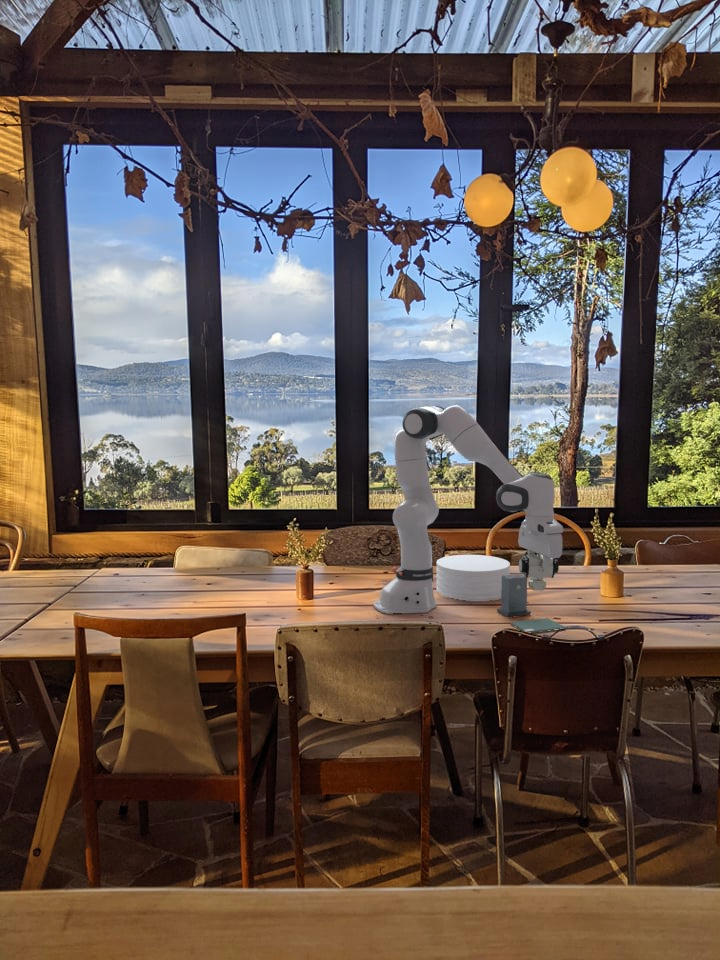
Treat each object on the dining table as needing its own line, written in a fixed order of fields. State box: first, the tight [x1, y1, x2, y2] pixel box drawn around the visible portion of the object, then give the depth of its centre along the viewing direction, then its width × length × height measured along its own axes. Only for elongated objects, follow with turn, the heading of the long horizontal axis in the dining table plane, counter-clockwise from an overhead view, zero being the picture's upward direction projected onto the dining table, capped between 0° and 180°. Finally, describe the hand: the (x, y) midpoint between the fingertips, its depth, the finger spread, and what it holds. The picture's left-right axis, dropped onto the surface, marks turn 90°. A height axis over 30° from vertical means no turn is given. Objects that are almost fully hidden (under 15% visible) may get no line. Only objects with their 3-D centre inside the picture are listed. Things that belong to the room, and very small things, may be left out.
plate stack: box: [435, 554, 511, 602], centre depth 263 cm, size 28×28×12 cm
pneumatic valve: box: [518, 553, 560, 592], centre depth 218 cm, size 6×12×12 cm, turn 91°
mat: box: [510, 617, 565, 634], centre depth 220 cm, size 14×10×1 cm
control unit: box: [496, 573, 532, 618], centre depth 233 cm, size 9×7×13 cm
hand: (538, 566), depth 218 cm, fingers closed on pneumatic valve, 5 cm apart
